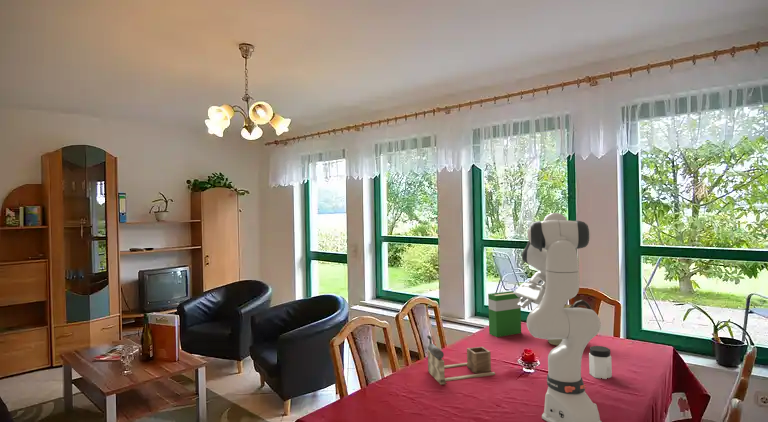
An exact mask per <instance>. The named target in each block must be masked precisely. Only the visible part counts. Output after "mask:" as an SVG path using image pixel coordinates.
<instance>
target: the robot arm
mask: <svg viewBox="0 0 768 422" xmlns="http://www.w3.org/2000/svg"><path fill="white" fill-rule="evenodd" d="M527 230H528V231H527V238H528V241H527V244H526V246H525V248H523V250H522V253H521V259H522V262H524V263H525V264H528V265H530V266H531V267H532V268H534V269H535V270H537V271H536V272H534V273H533V275H532V276H531V277H530V279H529V280H528V281H526V282H525V281H524V282H523V283H521V284H520V285H519V286H518V287H517V288H516V289H515V290H514V292H513V293H514V294H515V295H516V296H517V297H519V298H520V301H519V303H518V304H517V305H518V306H519V307H521V308H522V309H525V308H526V307H527V306H529V305H531V303H532V304H535V305H537V306H536V307H535V308H534V309H533V310H531V311H530V312H529V314H528V315H527V318H526V327H527V330H528V331H529V334H530V335H531V336H532V337H534V338H535V339H536V338H537V339H540V340H541V339H542V340H547V341H548V339H563V340H562V342H561V343H560V344H559V345H558V346H556V347H553V348H552V349H551V350H550V351H549V353H548V355H547V368H548V369H547V370H548V371H547V372H548V373H547V376H546V383H547V386H548V387H547V390H546V393H545V396H544V408H543V409H544V410H543V413H542V414H541V419H543V420H544V421H546V422H602V420H601V418H600V413H599V412H600V411H599V410H598V406H597V403H594V402H593V400H592V399H591V398H590V397H589V395H588V394H587V393H586V389H587V387H586V386H587V384H584V383H585V382H584V380H583V377H582V358H583V353H584V351H585V348H586V347H587V345H588V344H589V342H590V341H591V340H592V339H593V338H594V337H596V336H597V335H598V334H599V332H600V330H601V326H602V325H601V319H600V316H599V315H598V314H597V312H596V311H595V310H594V309H592V308H591V309H592V310H591V309H587V308H586V307H577V308H564V305H565V304H567V302H568V301H570V300H571V299H573V298H575V297H576V296H577V294H578V293H579V290H580V279H579V278H580V276H579V274H580V273H579V269H580V268H579V259H578V252H577V250H579V249H584V248H587V246H588V245H589V244H590V243H589V242H590V239H591V230H590V228H589V225H588V224H587V223H586V222H584V221H581V220H577V219H576V220H568V219H567V217H566V216H565V215H564V214H562V213H560V212H551V213H548V214H547V215H545V217H544V218H543V220H542V221H541V220H536V221H531V223H530V224H529V226H528V229H527Z"/></svg>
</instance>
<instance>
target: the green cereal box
mask: <svg viewBox="0 0 768 422" xmlns="http://www.w3.org/2000/svg"><path fill="white" fill-rule="evenodd" d="M514 293H515V292H514V290H511V291H501V292H494V293H493V292H492V293H488V295H487V297H488V299H487V300H488V302H487V303H488V331H489V332H488V334H489V335H490V336H493V337H496V338H501V337H506V336H512V335H518V334H519V335H520V334H522V312H521V311H522V309H521V308H522V307H519V306H518V305H517V304H518V303H519V301H520V298H519V297H517V296H516V295H515V294H514Z"/></svg>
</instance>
